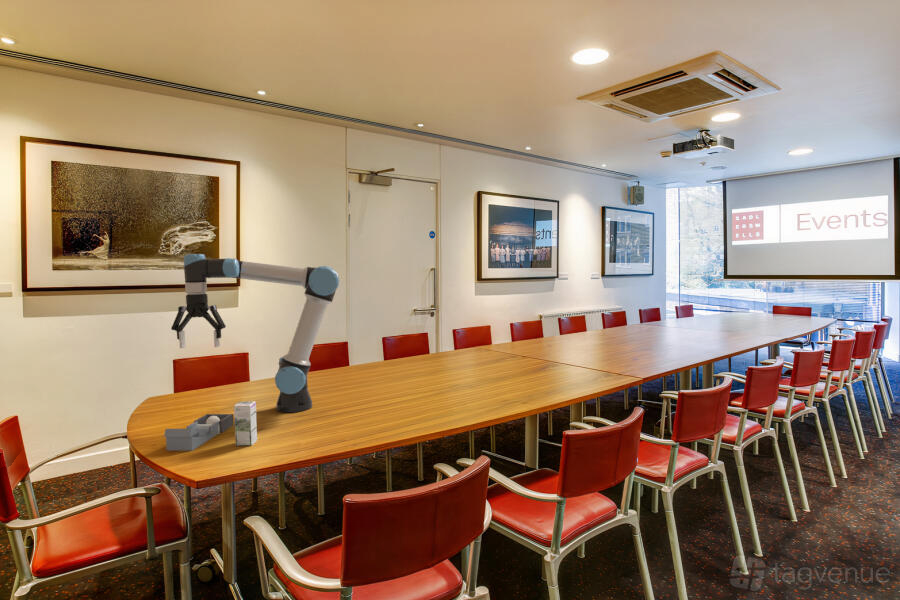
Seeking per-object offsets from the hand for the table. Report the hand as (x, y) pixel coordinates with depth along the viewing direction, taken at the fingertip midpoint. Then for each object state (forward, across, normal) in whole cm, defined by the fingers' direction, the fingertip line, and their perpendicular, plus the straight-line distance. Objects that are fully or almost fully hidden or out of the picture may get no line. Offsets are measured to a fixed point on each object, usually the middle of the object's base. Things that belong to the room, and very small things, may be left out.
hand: (199, 347), depth 191 cm
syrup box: (+31, -26, +23) cm, 47 cm away
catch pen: (+31, -7, +6) cm, 32 cm away
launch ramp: (+31, -6, +20) cm, 38 cm away
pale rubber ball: (+28, -7, +7) cm, 30 cm away
